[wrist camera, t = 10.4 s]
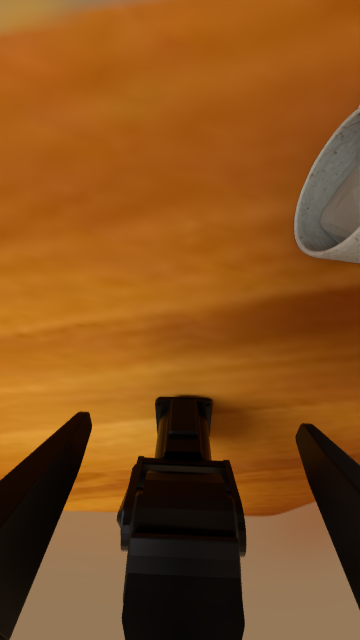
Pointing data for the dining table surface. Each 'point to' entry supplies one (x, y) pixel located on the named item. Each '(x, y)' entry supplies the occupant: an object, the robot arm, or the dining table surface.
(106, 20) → the dining table surface
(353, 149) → the ceramic mug
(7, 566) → the robot arm
